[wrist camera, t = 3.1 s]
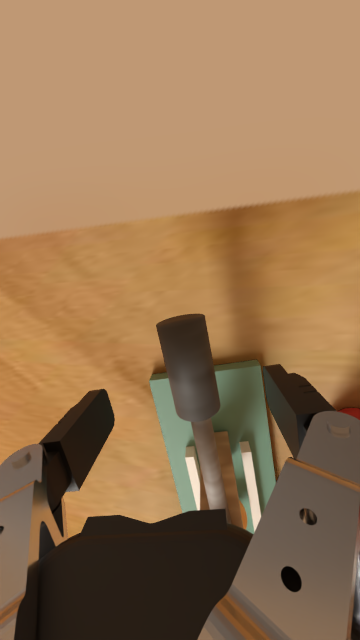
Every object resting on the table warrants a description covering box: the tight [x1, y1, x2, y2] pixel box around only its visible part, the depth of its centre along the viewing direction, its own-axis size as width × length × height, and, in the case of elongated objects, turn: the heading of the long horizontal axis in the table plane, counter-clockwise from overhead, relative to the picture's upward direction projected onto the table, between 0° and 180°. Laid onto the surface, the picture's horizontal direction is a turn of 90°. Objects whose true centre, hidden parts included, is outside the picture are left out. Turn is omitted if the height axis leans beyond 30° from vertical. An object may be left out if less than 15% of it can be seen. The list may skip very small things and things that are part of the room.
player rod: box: [156, 314, 244, 529], centre depth 17 cm, size 4×19×12 cm, turn 11°
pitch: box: [149, 360, 276, 534], centre depth 25 cm, size 12×32×6 cm, turn 12°
